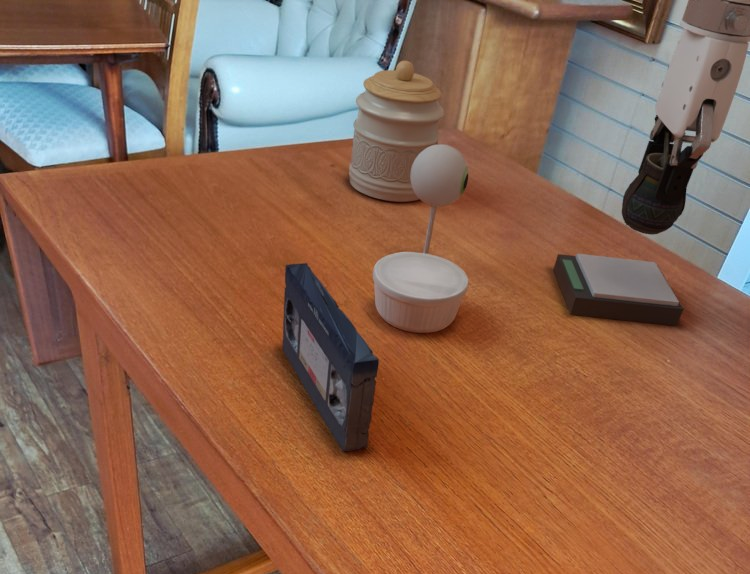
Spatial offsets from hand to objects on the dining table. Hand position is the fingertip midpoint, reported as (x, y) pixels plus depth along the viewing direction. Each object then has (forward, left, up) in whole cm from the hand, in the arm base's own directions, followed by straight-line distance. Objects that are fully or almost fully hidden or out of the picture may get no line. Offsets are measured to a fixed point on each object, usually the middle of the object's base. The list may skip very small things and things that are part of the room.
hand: (658, 186), depth 94 cm
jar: (+30, -29, -15) cm, 44 cm away
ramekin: (+28, +10, -15) cm, 33 cm away
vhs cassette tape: (+38, +29, -15) cm, 50 cm away
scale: (+1, 0, -15) cm, 15 cm away
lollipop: (+26, -4, -15) cm, 30 cm away
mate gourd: (0, 0, -5) cm, 5 cm away
